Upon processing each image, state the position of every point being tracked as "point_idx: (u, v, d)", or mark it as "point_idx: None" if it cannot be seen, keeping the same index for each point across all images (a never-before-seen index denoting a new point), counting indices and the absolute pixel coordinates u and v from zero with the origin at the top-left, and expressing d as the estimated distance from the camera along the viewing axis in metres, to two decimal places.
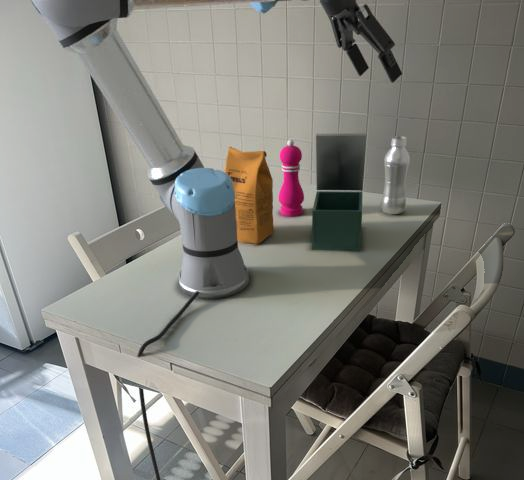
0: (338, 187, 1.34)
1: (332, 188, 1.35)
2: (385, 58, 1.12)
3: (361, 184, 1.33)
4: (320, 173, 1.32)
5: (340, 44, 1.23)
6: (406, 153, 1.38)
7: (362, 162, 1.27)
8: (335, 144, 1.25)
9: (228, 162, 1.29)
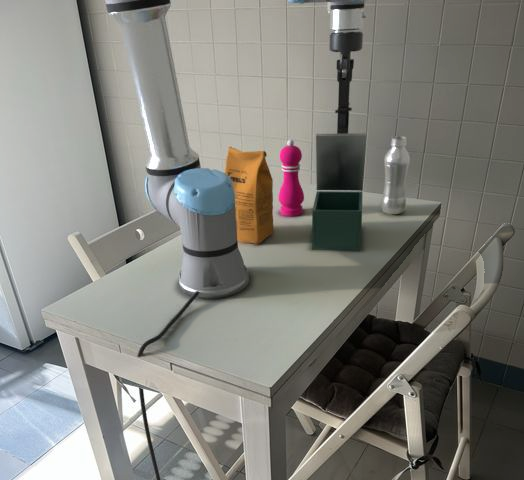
0: (338, 187, 1.34)
1: (332, 188, 1.35)
2: (340, 117, 1.30)
3: (361, 184, 1.33)
4: (320, 173, 1.32)
5: None
6: (406, 153, 1.38)
7: (362, 162, 1.27)
8: (335, 144, 1.25)
9: (228, 162, 1.29)
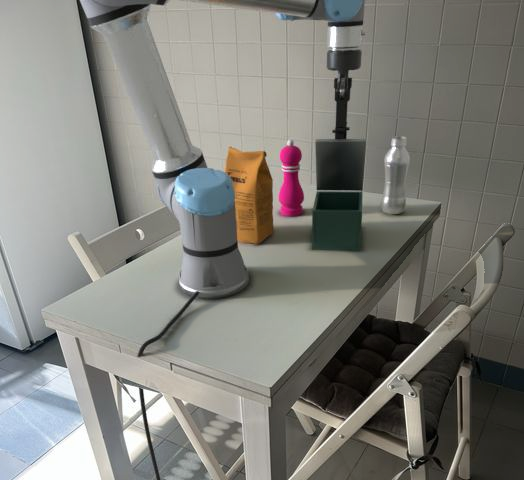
0: (338, 187, 1.34)
1: (332, 188, 1.35)
2: (337, 137, 1.24)
3: (361, 185, 1.32)
4: (320, 175, 1.31)
5: None
6: (406, 153, 1.38)
7: (362, 165, 1.27)
8: (335, 149, 1.24)
9: (228, 162, 1.29)
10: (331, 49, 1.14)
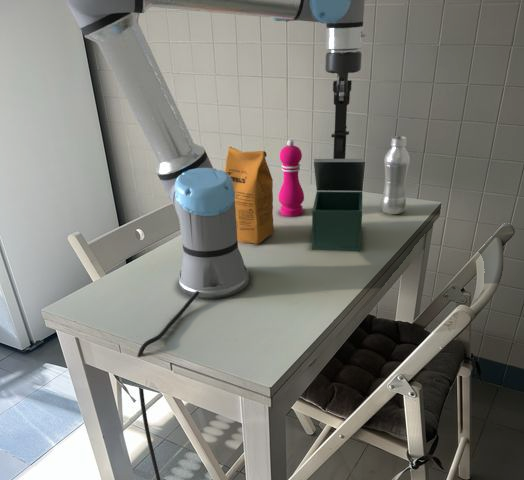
0: (338, 189, 1.34)
1: (332, 189, 1.35)
2: (336, 141, 1.21)
3: (361, 187, 1.32)
4: (319, 182, 1.31)
5: None
6: (406, 153, 1.38)
7: (361, 176, 1.26)
8: (333, 166, 1.22)
9: (228, 162, 1.29)
10: (330, 51, 1.10)
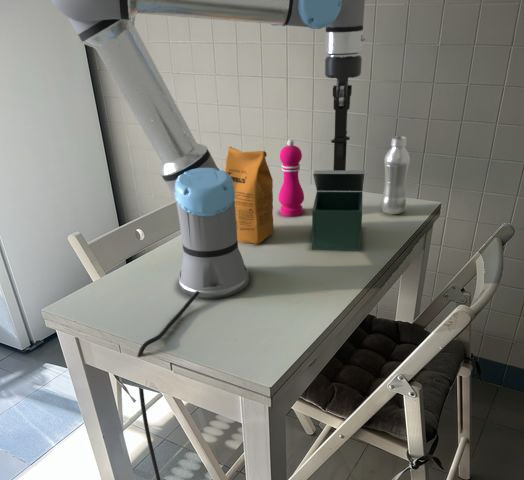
0: (338, 190, 1.34)
1: (332, 190, 1.35)
2: (337, 147, 1.19)
3: (361, 189, 1.32)
4: (319, 185, 1.31)
5: None
6: (406, 153, 1.38)
7: (361, 182, 1.26)
8: (333, 176, 1.22)
9: (228, 162, 1.29)
10: (329, 55, 1.08)
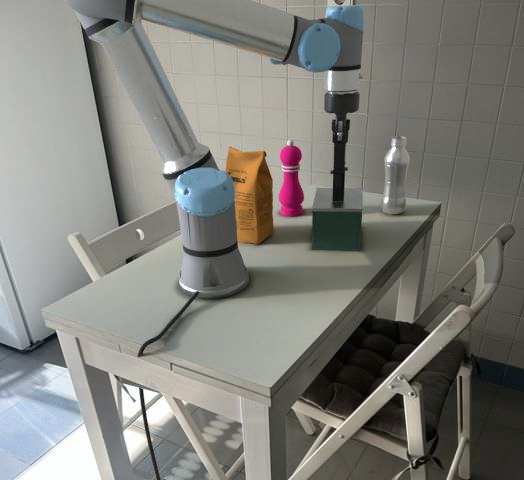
0: None
1: None
2: (335, 178, 1.22)
3: None
4: None
5: None
6: (406, 153, 1.38)
7: None
8: None
9: (228, 162, 1.29)
10: (328, 92, 1.12)
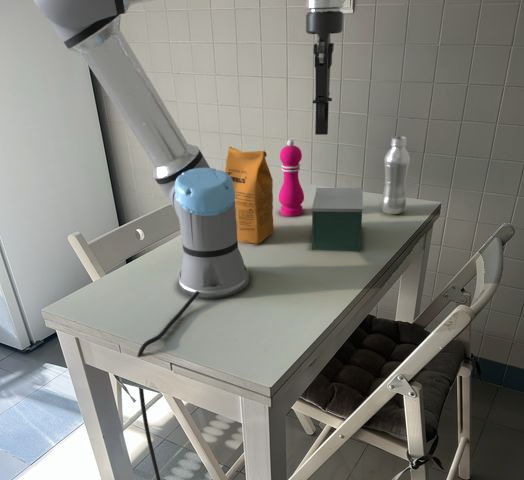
0: None
1: None
2: None
3: None
4: None
5: None
6: (406, 153, 1.38)
7: None
8: None
9: (228, 162, 1.29)
10: (310, 10, 1.06)
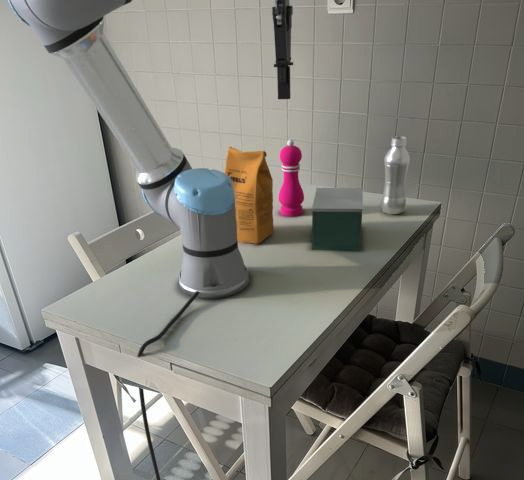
0: None
1: None
2: (279, 72, 1.17)
3: None
4: None
5: None
6: (406, 153, 1.38)
7: None
8: None
9: (228, 162, 1.29)
10: None
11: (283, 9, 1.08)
